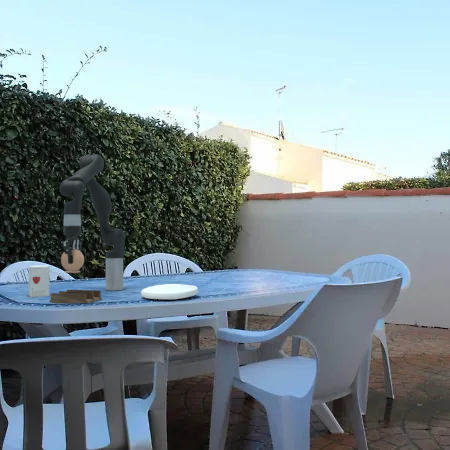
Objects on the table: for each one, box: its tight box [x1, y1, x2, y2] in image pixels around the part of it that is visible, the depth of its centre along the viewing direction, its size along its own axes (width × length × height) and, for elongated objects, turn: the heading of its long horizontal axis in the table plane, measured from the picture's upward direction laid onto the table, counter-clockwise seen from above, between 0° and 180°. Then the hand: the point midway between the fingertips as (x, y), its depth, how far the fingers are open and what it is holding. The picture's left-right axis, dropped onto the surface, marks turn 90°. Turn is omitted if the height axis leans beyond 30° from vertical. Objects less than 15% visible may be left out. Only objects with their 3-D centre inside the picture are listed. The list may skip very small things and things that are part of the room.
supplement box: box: [27, 264, 51, 298], centre depth 239 cm, size 9×9×15 cm
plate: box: [140, 283, 199, 301], centre depth 231 cm, size 28×6×27 cm
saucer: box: [60, 249, 85, 274], centre depth 217 cm, size 3×10×11 cm, turn 77°
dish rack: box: [49, 289, 103, 304], centre depth 220 cm, size 14×18×4 cm
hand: (72, 263), depth 217 cm, fingers closed on saucer, 2 cm apart
